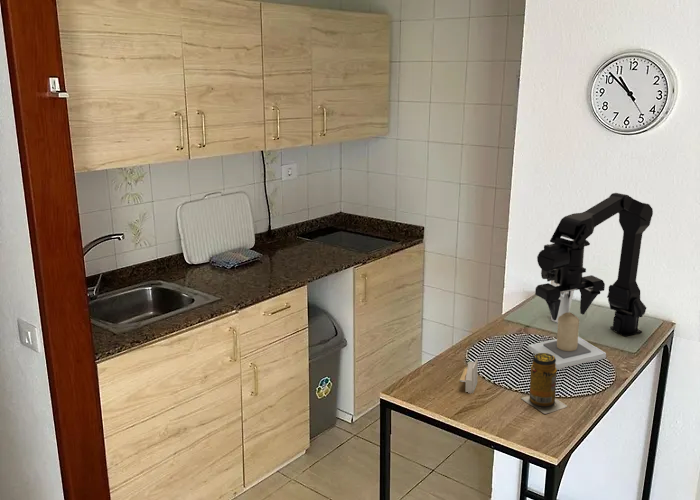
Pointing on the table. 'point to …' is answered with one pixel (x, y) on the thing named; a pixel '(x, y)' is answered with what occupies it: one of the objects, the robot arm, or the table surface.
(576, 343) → the candle
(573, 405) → the table surface
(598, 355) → the white flat block
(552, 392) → the condiment
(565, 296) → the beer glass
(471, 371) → the architectural model
